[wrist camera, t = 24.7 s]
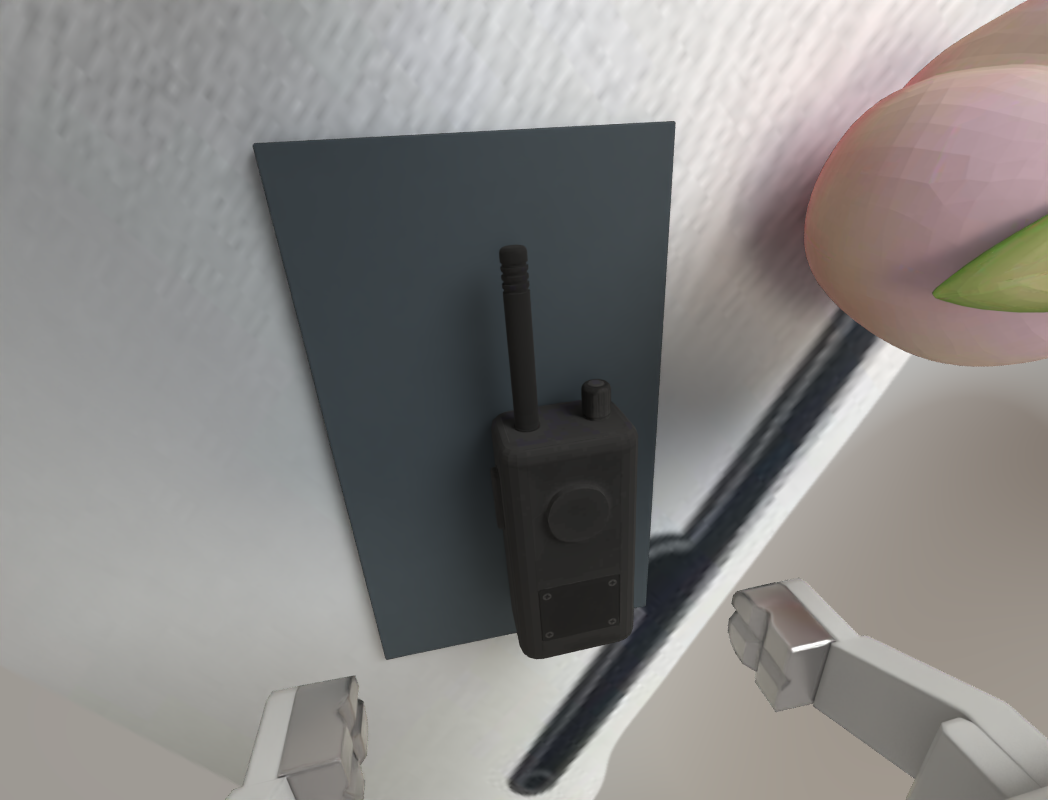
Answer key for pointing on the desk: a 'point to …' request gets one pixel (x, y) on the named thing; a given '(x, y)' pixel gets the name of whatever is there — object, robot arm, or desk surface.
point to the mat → (466, 333)
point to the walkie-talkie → (562, 498)
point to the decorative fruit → (947, 203)
